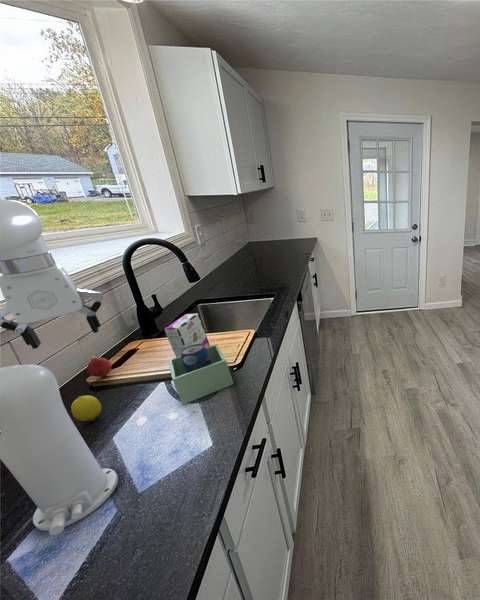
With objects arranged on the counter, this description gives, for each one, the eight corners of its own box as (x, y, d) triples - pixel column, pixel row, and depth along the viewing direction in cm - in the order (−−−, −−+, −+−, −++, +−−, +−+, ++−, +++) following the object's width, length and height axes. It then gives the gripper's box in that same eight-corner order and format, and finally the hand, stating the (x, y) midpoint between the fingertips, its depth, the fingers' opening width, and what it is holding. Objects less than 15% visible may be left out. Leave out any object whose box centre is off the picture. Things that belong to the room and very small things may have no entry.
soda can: (205, 389, 94) (192, 355, 90) (186, 387, 96) (172, 354, 91) (221, 375, 101) (210, 343, 96) (204, 374, 102) (192, 342, 97)
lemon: (90, 428, 83) (76, 404, 80) (74, 426, 84) (59, 402, 81) (111, 413, 88) (99, 390, 85) (96, 411, 89) (83, 389, 86)
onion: (117, 374, 107) (107, 354, 104) (96, 383, 102) (85, 363, 99) (111, 369, 110) (101, 350, 107) (90, 378, 105) (79, 358, 102)
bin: (233, 384, 97) (225, 360, 94) (182, 404, 90) (172, 379, 86) (224, 365, 107) (216, 343, 104) (177, 383, 100) (168, 359, 96)
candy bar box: (200, 353, 116) (185, 313, 110) (213, 352, 116) (199, 312, 110) (180, 371, 106) (162, 328, 100) (194, 370, 106) (178, 327, 99)
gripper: (-47, 279, 56) (5, 360, 62) (83, 258, 65) (116, 330, 72) (-31, 271, 61) (16, 346, 68) (87, 253, 71) (118, 320, 78)
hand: (67, 338), depth 70 cm, fingers open, 9 cm apart
